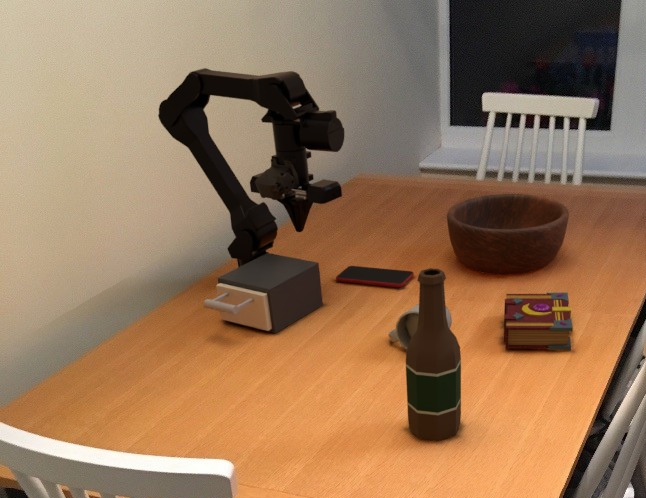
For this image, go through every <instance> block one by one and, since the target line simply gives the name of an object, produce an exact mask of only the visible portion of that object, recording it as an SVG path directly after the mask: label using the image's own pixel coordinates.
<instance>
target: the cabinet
mask: <svg viewBox="0 0 646 498" xmlns="http://www.w3.org/2000/svg"><path fill="white" fill-rule="evenodd" d="M216 278H217V279H216V280H217V284H219V283H222V284H227V285H229V284H230V285H235V286H239V287H244V288H248V289H253V290H257V291H262V292H266V293H267V296H268V303H269V310H270V317H271V324H272V329H270V330H269V331H266V330H262V329H258V328H254V327H250V326H246V325H242V324H238V323H235V322H231V321H227V320H224V322H228V323H231V324H236V325H239V326H244V327H248V328H251V329H256V330H259V331H263V332H268V333H271V334H277V333H279V332H281V331H282V330H284V329H286V328H287V327H289V326H290V325H292V324H294V323H296V322H297V321H299V320H300V319H302V318H304V317H305V316H307V315H309V314H310V313H312V312H314V311H315V310H317V309H319V308H320V307H322V306H324V304H323V293H322V284H321V272H320V263H319V262H317V261H311V260H306V259H301V258H296V257H291V256H286V255H282V254H281V255H280V254H276V253H270V252H269V253H267V254H265V255H263V256H261V257H259V258H257V259H255V260H253V261H250V262H248V263H246V264H244V265H242V266H240V267H238V266H237V267H236V268H234V269H232V270H230V271H228V272H226V273H224V274H222V275H220V276H218V277H216Z"/></svg>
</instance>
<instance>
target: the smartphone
mask: <svg viewBox="0 0 646 498" xmlns="http://www.w3.org/2000/svg"><path fill="white" fill-rule="evenodd" d="M414 275H415V273H414V272H413V271H412V270H403V269H402V270H401V269H392V268H380V267H371V266H360V265H359V266H358V265H349V266H347V267H346V268H345V269H343V270H342V271H341V272H340V273H338V274H337V275H336V277H335V280H336V281H337V282H342V283H352V284H363V285H372V286H382V287H389V288H402V287H404V286H405V284H406V283H408V281H410V280H411V278H412V277H414Z"/></svg>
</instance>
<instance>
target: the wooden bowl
mask: <svg viewBox="0 0 646 498" xmlns="http://www.w3.org/2000/svg"><path fill="white" fill-rule="evenodd" d="M569 217H570V212H569V209H568V208H567V206H566V205H564V203H562V202H560V201H558V200H555V199H553V198H549V197H545V196H540V195H533V194H525V193H498V194H487V195H481V196H476V197H471V198H468V199H465V200H461V201H460V202H457V203H455V204H454V205H452V206H451V207H450V208H449V209H448V211H447V213H446V221H447V230H448V235H449V240H450V244H451V248H452V250H453V252H454V255H455V256H456V258H457V259H458V261H459V262H460V263H461V264H462V265H463V266H464V267H466V269H467V268H468V269H469V270H472V271H475V272H478V273H482V274H488V275H499V276H500V275H501V276H508V275H509V276H512V275H522V274H523V275H524V274H529V273H533V272H536V271H539V270H541V269H544V268H546V267H547V266H549V265H550V264H551V263H552V262H553V261H554V260H555V258H556V257H557V256H558V254H559V253H560V250H561V248H562V246H563V243H564V241H565V237H566V234H567V233H566V232H567V228H568V223H569Z"/></svg>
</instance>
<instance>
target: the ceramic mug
mask: <svg viewBox="0 0 646 498" xmlns="http://www.w3.org/2000/svg"><path fill="white" fill-rule="evenodd" d="M446 318H447V322H448V327H449V329H450V330H451V328H452V323H453V318H452V314H451V312H450V309H448V307H447V306H446ZM418 320H419V303H418V304H416V305H414V306H413V307H411V308H410V309H408V310H407V311H405V312H404V313H402V314H401V315H400V316H399V318H398V319H397V321H396V323H395V328H393V329H392V330H391V331H389V332H388V338H389V339H390V341H391V343H396V342H399V343H400V344H399V345H401V346H402V347H403V348H404V349H405V350H406V351H407V348H408V345H409V342H410V340H411V338H412V337H413V335H414V334H415V332H416V331H417V326H418Z"/></svg>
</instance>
